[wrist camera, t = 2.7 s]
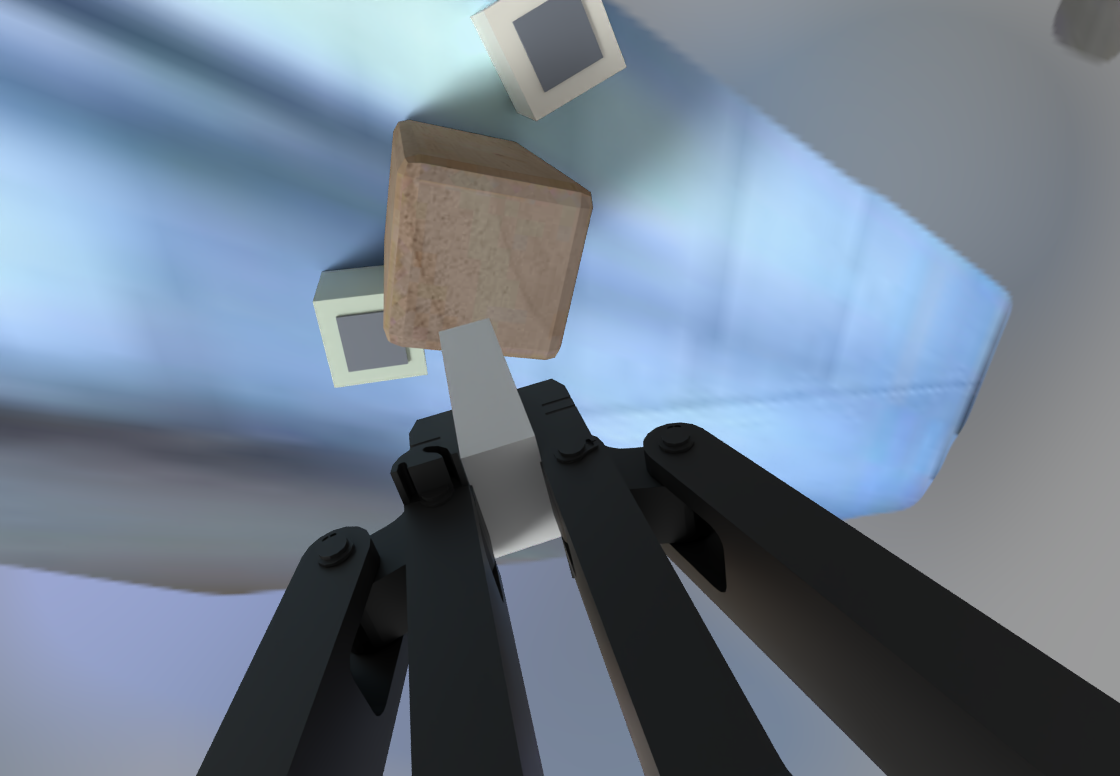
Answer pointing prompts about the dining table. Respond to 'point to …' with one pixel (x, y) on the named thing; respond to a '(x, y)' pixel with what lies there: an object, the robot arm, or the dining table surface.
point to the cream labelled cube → (548, 50)
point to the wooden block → (479, 240)
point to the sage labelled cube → (360, 329)
